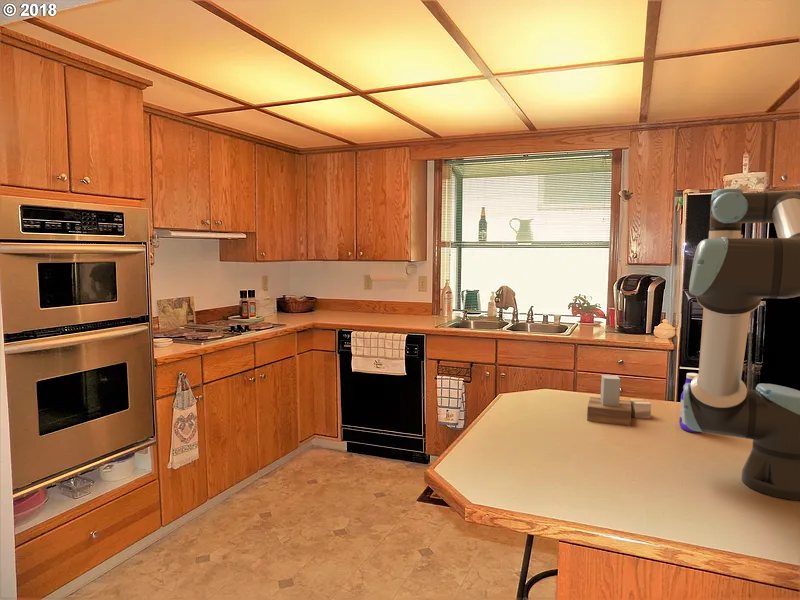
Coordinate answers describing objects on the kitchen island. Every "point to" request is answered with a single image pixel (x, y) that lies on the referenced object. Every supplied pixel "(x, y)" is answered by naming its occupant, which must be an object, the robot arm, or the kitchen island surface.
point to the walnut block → (609, 412)
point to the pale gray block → (610, 390)
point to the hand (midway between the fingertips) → (719, 324)
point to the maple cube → (640, 408)
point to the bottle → (682, 417)
